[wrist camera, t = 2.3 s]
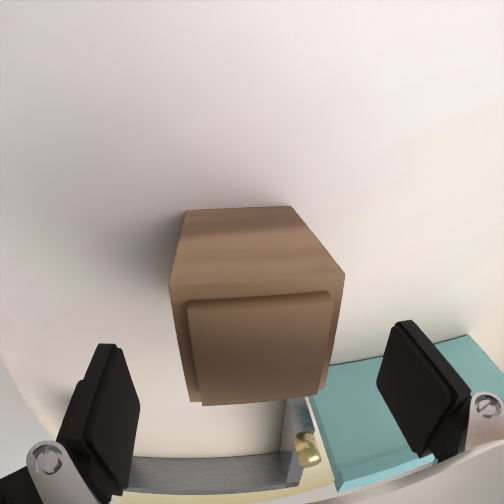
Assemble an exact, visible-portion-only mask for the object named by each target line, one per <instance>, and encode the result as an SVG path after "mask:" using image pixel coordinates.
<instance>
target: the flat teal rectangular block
mask: <svg viewBox="0 0 504 504" xmlns="http://www.w3.org/2000/svg"><path fill="white" fill-rule="evenodd" d="M434 345H435V347H436V348H437V349H438V350H439V351H440V352H441V354H442V355H443V356H444V357H445V358H446V360H447V361H448V362H449V363H450V364H451V366H452V367H453V368H454V369H455V370H456V372H457V373H458V374H459V375H460V376H461V378H462V379H463V380H464V381H465V383H466V384H467V385H468V386H469V388H470V389H471V390H472V391H471V393H470V395H471V396H472V397H473V396H474V395H475V394H477V393H478V392H483V391H484V392H490V393H493V394H495V395H496V396H498V397H499V398H500V399H501V400H502V402H503V404H504V374H503V373H502V372H501V370H500V369H499V368H498V367H497V366H496V365H495V363H494V362H493V361H492V360H491V359H490V358H489V357H488V355H487V354H486V353H485V352H484V351H483V350H482V349H481V348H480V347H479V345H478V344H477V343H476V342H475V341H474V340H473V339H472V338H471V337H470V336H469V335H466V336H463V337H460V338H456V339H453V340H449V341H445V342H442V343H438V344H434ZM382 360H383V357H378V358H373V359H368V360H362V361H357V362H351V363H346V364H340V365H333V366H329V369H328V374H327V378H326V383H325V387H324V389H323V390H318V394H317V395H312V396H308V398H309V401H310V404H311V407H312V410H313V413H314V416H315V419H316V422H317V425H318V428H319V431H320V434H321V437H322V441H323V444H324V447H325V450H326V453H327V456H328V459H329V462H330V465H331V468H332V471H333V475H334V478H335V480H334V483H335V486H336V489H337V492H338V493H339V492H342V491H347V490H350V489H354V488H357V487H361V486H365V485H368V484H371V483H374V482H377V481H381V480H384V479H387V478H390V477H392V476H395V475H398V474H401V473H404V472H406V471H409V470H411V469H414V468H417V467H419V466H422V465H424V464H426V463H429V462H431V461H433V460H434V458H435V457H434V455H433V453H432V454H430V455H428V456H426V457H423V458H421V459H419V457H418V455H417V453H413V452H412V450H411V449H410V447H409V445H408V443H407V441H406V439H405V437H404V436H403V434H402V432H401V430H400V428H399V426H398V425H397V423H396V421H395V419H394V417H393V415H392V414H391V412H390V410H389V408H388V406H387V405H386V403H385V401H384V399H383V397H382V396H381V394H380V392H379V390H378V388H377V386H376V379H377V376H378V372H379V369H380V366H381V363H382Z"/></svg>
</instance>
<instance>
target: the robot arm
mask: <svg viewBox="0 0 504 504" xmlns="http://www.w3.org/2000/svg"><path fill="white" fill-rule="evenodd" d="M376 386H377V388H378V390H379V392H380V394H381V396H382V397H383V399H384V401H385V403H386V405H387V406H388V408H389V410H390V412H391V414H392V415H393V417H394V419H395V421H396V423H397V425H398V426H399V428H400V430H401V432H402V434H403V436H404V437H405V439H406V441H407V443H408V445H409V447H410V449H411V450H412V452H413V453H417V455H418V457H419V459H421V458H423V457H426V456H428V455H430V454H432V453H433V455H434V457H435V458H434V462H433V466H431V467H428V468H426V469H423V470H421V471H418V472H416V473H413V474H411V475H408V476H405V477H402V478H400V479H397V480H394V481H391V482H388V483H386V484H382V485H379V486H376V487H373V488H369V489H366V490H362V491H359V492H355V493H352V494H348V495H344V496H340V497H335V498H332V499H327V500H322V501H318V502H312V503H307V504H504V404H503V402H502V400H501V399H500V398H499V397H498V396H496V395H495V394H493V393H490V392H484V391H483V392H478V393H477V394H475V395H474V396H473V397H472V396H471V395H470V393H471V391H472V390H471V389H470V388H469V386H468V385H467V384H466V383H465V381H464V380H463V379H462V378H461V376H460V375H459V374H458V373H457V372H456V370H455V369H454V368H453V367H452V366H451V364H450V363H449V362H448V361H447V360H446V358H445V357H444V356H443V355H442V354H441V352H440V351H439V350H438V349H437V348H436V347H435V345H434V344H433V343H432V342H431V341H430V340H429V339H428V337H427V336H426V335H425V334H424V333H423V332H422V331H421V329H420V328H419V327H418V326H417V325H416V324H415V323H414V322H413V321H412V320H406V321H400V322H397V323H396V324H395V326H394V327H392V328H391V331H390V335H389V339H388V342H387V346H386V349H385V353H384V356H383V360H382V363H381V366H380V369H379V372H378V376H377V379H376ZM139 414H140V402H139V399H138V396H137V393H136V390H135V388H134V385H133V382H132V379H131V376H130V373H129V370H128V367H127V364H126V361H125V357H124V354H123V351H122V349H121V348H117V346H116V344H98V346H97V348H96V350H95V353H94V355H93V357H92V360H91V362H90V364H89V367H88V369H87V372H86V374H85V377H84V379H83V380H80V381H79V382H78V384H77V386H76V388H75V391H74V393H73V396H72V398H71V401H70V403H69V406H68V408H67V411H66V414H65V416H64V419H63V422H62V425H61V427H60V430H59V433H58V436H57V439H56V442H54V441H42V442H39V443H37V444H35V445H34V446H33V447H32V448H31V449H30V450H29V452H28V454H27V459H26V463H27V466H25V467H24V468H21V469H20V470H18V471H16V472H14V473H12V474H10V475H8V476H6V477H4V478H1V479H0V504H110V503H109V502H110V501H111V497H112V495H117V496H122V494H123V489H127V488H128V484H129V477H130V469H131V462H132V456H133V449H134V443H135V437H136V431H137V425H138V419H139Z"/></svg>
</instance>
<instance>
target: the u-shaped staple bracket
mask: <svg viewBox="0 0 504 504" xmlns="http://www.w3.org/2000/svg"><path fill="white" fill-rule="evenodd" d="M314 431H315V429H314V426H313V422H312V419H311V416H310V413H309V410H308V407H307V403H306V400H305V397H298V398H291V399H286V403H285V412H284V420H283V428H282V436H281V443H280V451H279V452H278V453H270V454H262V455H252V456H240V457H225V458H198V459H172V458H146V457H132V462H131V469H130V477H129V484H128V488H127V489H123V491H129V492H139V493H152V494H171V495H216V494H235V493H248V492H258V491H267V490H275V489H282V488H289V487H295V486H298V485H299V482H300V479H301V476H302V472H303V469H304V467H312V466H315V465H317V464H319V463H320V462H321V456H320V453H319V450H318V446H317V443H316V440H315V437H314Z"/></svg>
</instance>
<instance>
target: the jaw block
mask: <svg viewBox="0 0 504 504" xmlns="http://www.w3.org/2000/svg"><path fill="white" fill-rule="evenodd" d="M344 280H345V273H344V272H343V271H342V269H341V268H340V267H339V265H338V264H337V263H336V262H335V260H334V259H333V258H332V256H331V255H330V254H329V253H328V251H327V250H326V249H325V247H324V246H323V245H322V244H321V242H320V241H319V240H318V239H317V237H316V236H315V235H314V234H313V232H312V231H311V230H310V229H309V227H308V226H307V225H306V224H305V223H304V221H303V220H302V219H301V218H300V216H299V215H298V214H297V213H296V212H295V210H294V209H293V208H292V207H291V206H278V207H248V208H224V209H204V210H187V211H186V215H185V219H184V223H183V226H182V230H181V234H180V238H179V242H178V247H177V251H176V255H175V259H174V263H173V268H172V272H171V276H170V281H169V285H168V286H169V292H170V299H171V305H172V311H173V317H174V323H175V329H176V334H177V340H178V345H179V350H180V356H181V361H182V366H183V371H184V375H185V380H186V385H187V389H188V394H189V398H190V402H202V406H213V405H230V404H244V403H255V402H266V401H275V400H283V399H291V398H298V397H305V396H312V395H317V394H318V390H323V389H324V387H325V383H326V378H327V374H328V369H329V364H330V360H331V355H332V350H333V345H334V339H335V334H336V329H337V323H338V318H339V312H340V306H341V300H342V294H343V287H344Z"/></svg>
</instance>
